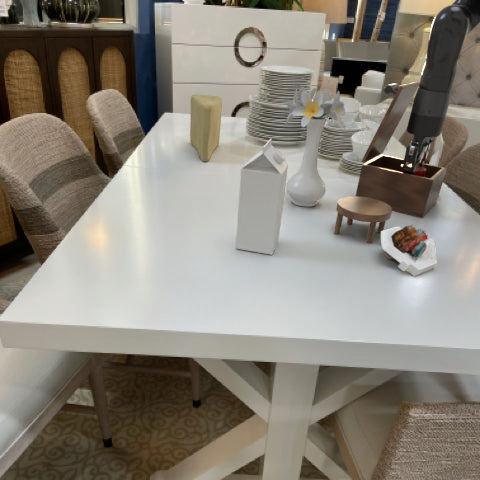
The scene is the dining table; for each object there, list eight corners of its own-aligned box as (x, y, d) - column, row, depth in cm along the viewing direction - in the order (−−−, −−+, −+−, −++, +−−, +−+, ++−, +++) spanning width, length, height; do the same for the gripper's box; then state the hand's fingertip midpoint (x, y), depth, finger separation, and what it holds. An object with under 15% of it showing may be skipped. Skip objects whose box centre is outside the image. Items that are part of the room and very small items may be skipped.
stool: (391, 232, 101) (399, 205, 98) (374, 248, 93) (381, 219, 90) (344, 218, 106) (349, 192, 103) (324, 233, 98) (329, 205, 95)
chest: (436, 203, 120) (447, 168, 115) (422, 218, 110) (433, 180, 105) (373, 188, 127) (380, 154, 122) (354, 200, 117) (362, 164, 112)
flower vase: (321, 190, 122) (339, 83, 108) (335, 217, 106) (358, 96, 93) (271, 187, 121) (283, 79, 107) (278, 213, 106) (293, 91, 92)
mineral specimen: (389, 231, 96) (408, 203, 91) (437, 266, 92) (459, 238, 87) (360, 252, 88) (378, 223, 83) (411, 291, 85) (432, 262, 80)
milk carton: (235, 249, 88) (242, 144, 78) (243, 235, 94) (251, 135, 84) (272, 255, 87) (284, 150, 77) (278, 241, 93) (291, 140, 83)
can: (421, 196, 117) (429, 167, 113) (414, 202, 113) (422, 172, 109) (397, 190, 120) (404, 162, 116) (390, 196, 115) (397, 167, 112)
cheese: (221, 163, 137) (224, 107, 129) (188, 161, 136) (188, 105, 128) (219, 144, 155) (222, 94, 147) (190, 143, 154) (190, 92, 146)
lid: (420, 82, 110) (402, 73, 111) (403, 87, 100) (383, 77, 101) (382, 153, 122) (366, 144, 123) (363, 163, 112) (346, 153, 113)
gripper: (438, 118, 99) (416, 196, 108) (452, 111, 109) (431, 182, 119) (402, 112, 102) (384, 189, 111) (420, 106, 113) (402, 176, 122)
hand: (408, 185), depth 115 cm, fingers closed on can, 6 cm apart
